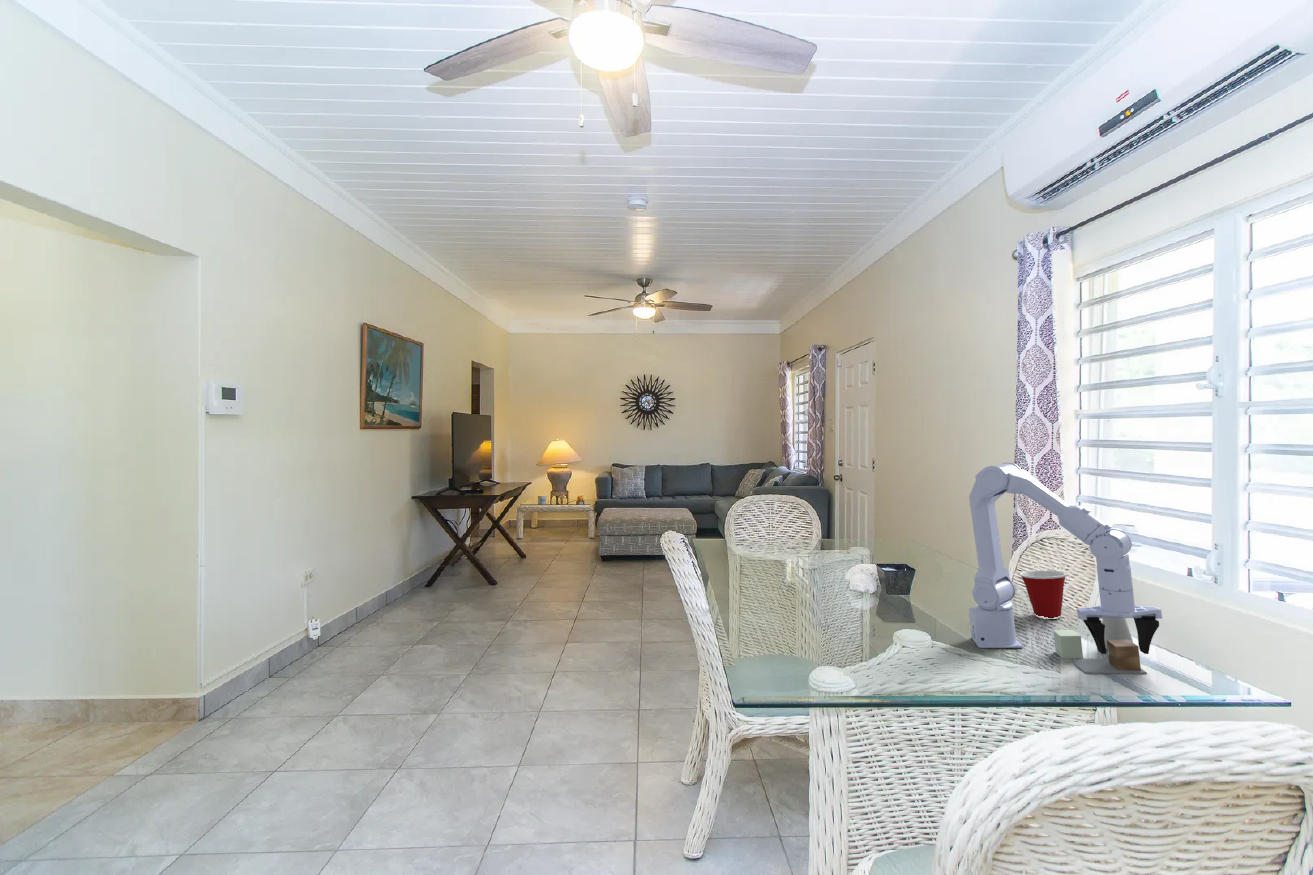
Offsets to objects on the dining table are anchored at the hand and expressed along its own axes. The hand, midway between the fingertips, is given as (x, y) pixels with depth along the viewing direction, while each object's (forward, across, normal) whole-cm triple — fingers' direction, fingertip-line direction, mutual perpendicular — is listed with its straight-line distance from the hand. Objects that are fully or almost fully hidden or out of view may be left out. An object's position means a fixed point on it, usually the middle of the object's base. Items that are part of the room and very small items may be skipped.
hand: (1122, 652), depth 124 cm
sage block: (+3, -8, +8) cm, 11 cm away
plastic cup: (+3, -2, +36) cm, 36 cm away
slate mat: (+3, -3, 0) cm, 4 cm away
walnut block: (+3, 0, 0) cm, 3 cm away
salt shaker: (+3, +3, +10) cm, 11 cm away
